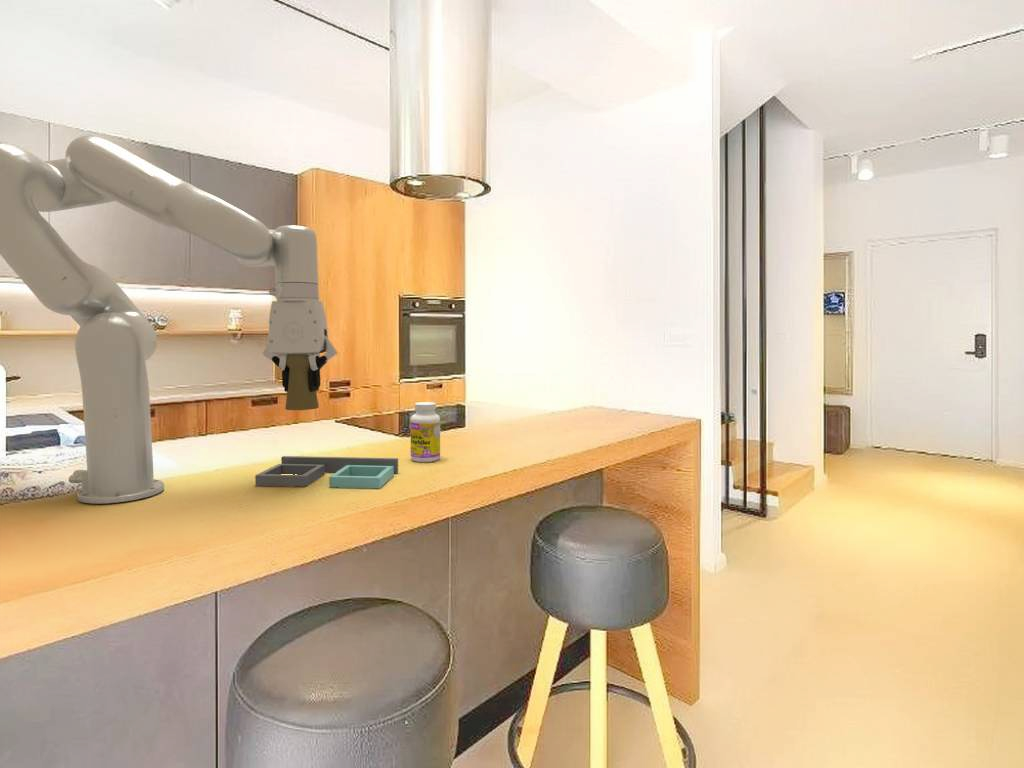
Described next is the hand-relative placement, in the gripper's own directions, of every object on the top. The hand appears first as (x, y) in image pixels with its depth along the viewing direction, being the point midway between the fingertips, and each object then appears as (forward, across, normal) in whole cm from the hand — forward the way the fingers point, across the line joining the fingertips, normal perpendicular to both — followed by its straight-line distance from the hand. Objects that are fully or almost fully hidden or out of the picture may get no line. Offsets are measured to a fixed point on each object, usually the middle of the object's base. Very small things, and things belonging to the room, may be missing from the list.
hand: (301, 389), depth 110 cm
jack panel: (+18, +4, +1) cm, 18 cm away
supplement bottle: (+18, +20, +20) cm, 33 cm away
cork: (+4, 0, 0) cm, 4 cm away
